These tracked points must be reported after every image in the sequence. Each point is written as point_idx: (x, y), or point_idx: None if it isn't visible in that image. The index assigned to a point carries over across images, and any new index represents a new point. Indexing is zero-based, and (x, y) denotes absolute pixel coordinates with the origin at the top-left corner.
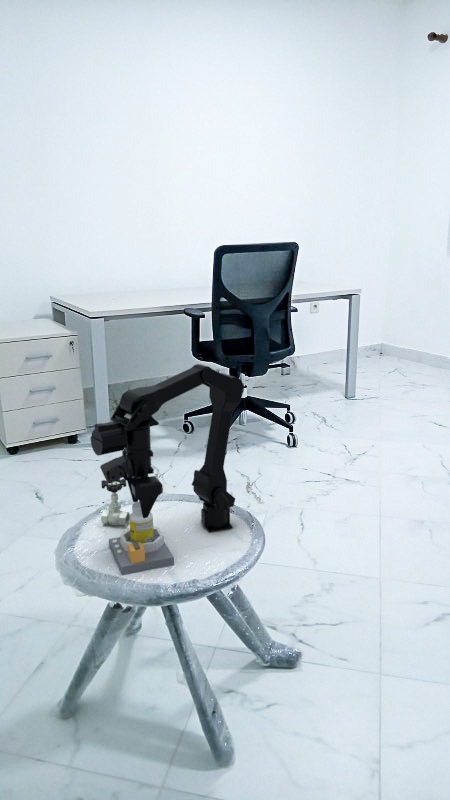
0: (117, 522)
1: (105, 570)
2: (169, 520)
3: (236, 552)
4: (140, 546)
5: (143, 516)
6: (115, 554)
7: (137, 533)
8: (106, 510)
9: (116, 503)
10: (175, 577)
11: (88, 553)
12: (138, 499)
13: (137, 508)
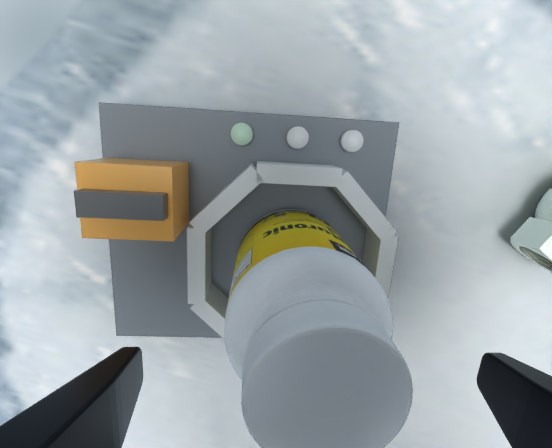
0: (542, 210)
1: (184, 49)
2: (463, 394)
3: None
4: (118, 225)
5: (112, 359)
6: (238, 112)
7: (245, 250)
8: None
9: None
10: (39, 294)
11: (369, 14)
12: (489, 406)
13: (260, 359)
